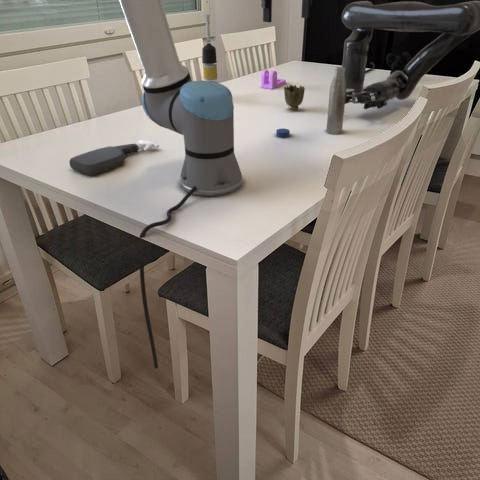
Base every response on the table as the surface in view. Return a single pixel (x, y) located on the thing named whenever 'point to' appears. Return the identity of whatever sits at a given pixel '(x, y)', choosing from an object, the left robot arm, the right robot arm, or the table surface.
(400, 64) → the squiggle
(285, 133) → the cap
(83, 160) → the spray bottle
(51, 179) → the table surface
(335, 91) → the bottle
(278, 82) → the bracket
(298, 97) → the cup
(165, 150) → the table surface
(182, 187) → the left robot arm
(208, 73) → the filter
